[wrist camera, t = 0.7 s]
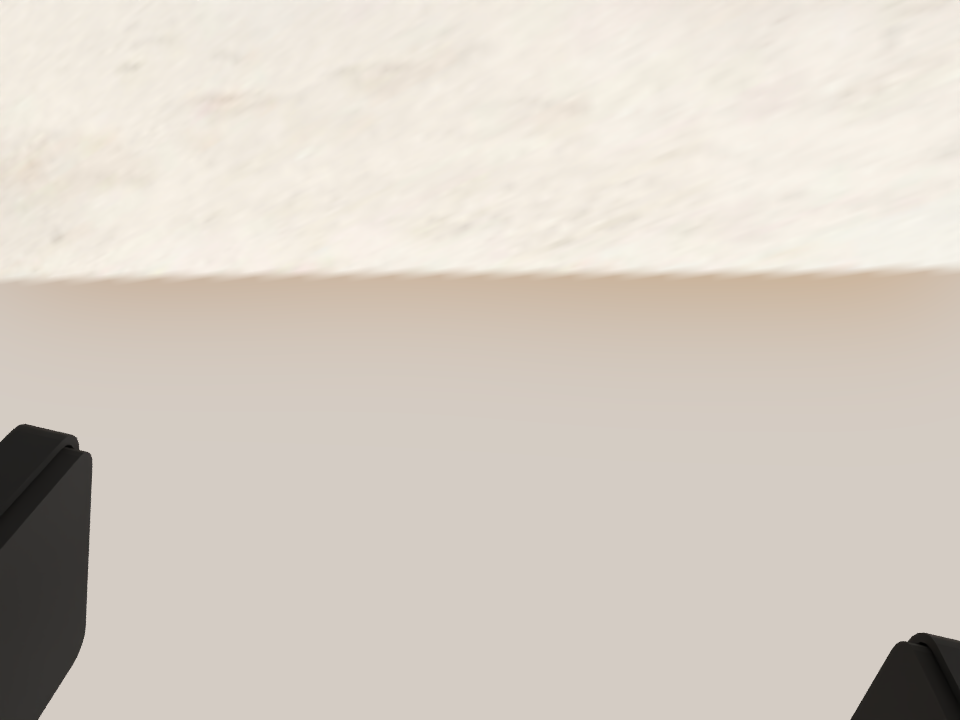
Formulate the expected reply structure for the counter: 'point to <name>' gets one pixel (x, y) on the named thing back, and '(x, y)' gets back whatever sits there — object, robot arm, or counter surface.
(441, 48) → the counter surface
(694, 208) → the counter surface
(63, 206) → the counter surface
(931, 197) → the counter surface
